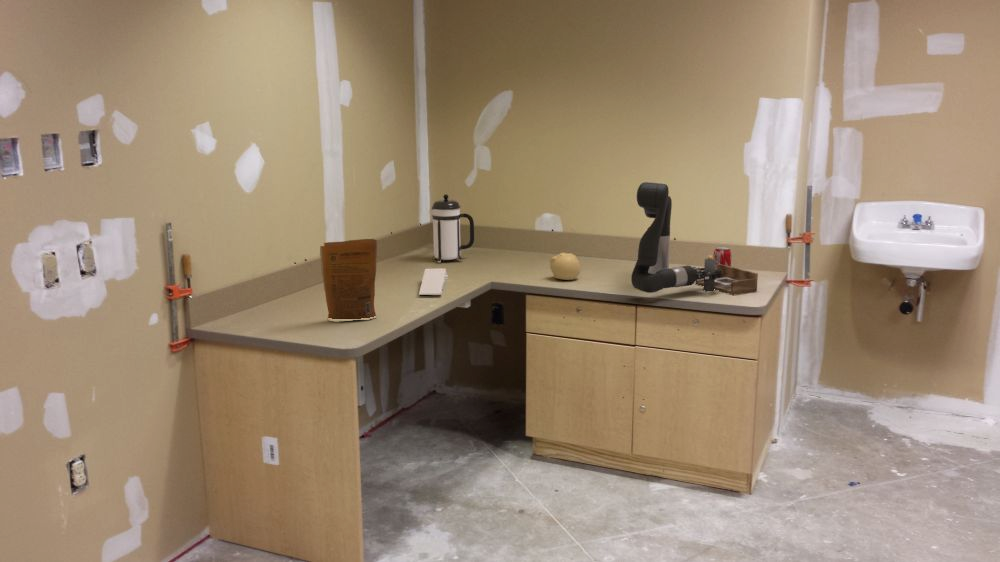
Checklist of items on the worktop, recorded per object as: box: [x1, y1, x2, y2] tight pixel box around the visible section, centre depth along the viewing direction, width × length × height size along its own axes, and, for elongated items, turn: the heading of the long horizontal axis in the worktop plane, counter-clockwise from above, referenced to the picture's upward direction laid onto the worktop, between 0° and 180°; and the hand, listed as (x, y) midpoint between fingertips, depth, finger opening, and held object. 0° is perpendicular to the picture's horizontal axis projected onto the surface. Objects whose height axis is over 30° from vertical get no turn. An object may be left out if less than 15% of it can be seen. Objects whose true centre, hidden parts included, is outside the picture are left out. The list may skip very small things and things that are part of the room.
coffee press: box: [428, 193, 475, 262], centre depth 398 cm, size 17×16×30 cm
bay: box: [695, 264, 759, 296], centre depth 343 cm, size 21×12×7 cm, turn 29°
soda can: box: [712, 246, 732, 269], centre depth 362 cm, size 7×7×12 cm
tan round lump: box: [549, 252, 581, 281], centre depth 361 cm, size 11×12×11 cm
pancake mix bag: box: [319, 238, 378, 319], centre depth 299 cm, size 7×19×28 cm, turn 101°
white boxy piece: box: [418, 268, 449, 296], centre depth 346 cm, size 10×7×28 cm
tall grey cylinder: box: [702, 255, 715, 292], centre depth 339 cm, size 4×4×14 cm
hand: (714, 271), depth 340 cm, fingers open, 6 cm apart
